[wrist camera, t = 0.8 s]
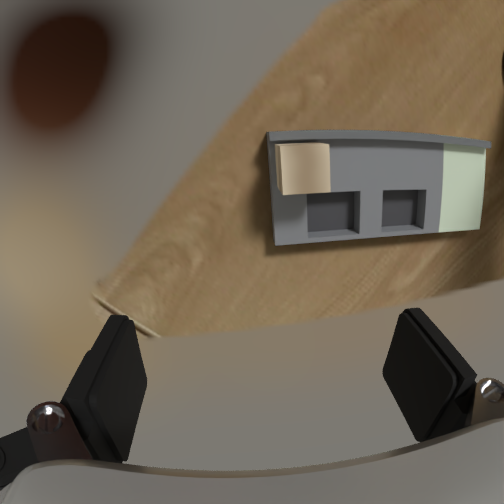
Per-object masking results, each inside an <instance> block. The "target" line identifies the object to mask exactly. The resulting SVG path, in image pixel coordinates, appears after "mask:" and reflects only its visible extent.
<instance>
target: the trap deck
mask: <svg viewBox="0 0 504 504" xmlns="http://www.w3.org/2000/svg"><path fill="white" fill-rule="evenodd" d="M266 134H267V148H268V162H269V177H270V192H271V208H272V225H273V240H274V243H275V246H278V245H290V244H302V243H314V242H326V241H338V240H350V239H362V238H375V237H387V236H399V235H412V234H425V233H437V232H450V231H463V230H476V229H480V222H481V213H482V204H483V194H484V181H485V161H486V148H491V142H489V141H483V140H477V139H470V138H462V137H454V136H445V135H435V134H424V133H411V132H395V131H373V130H299V131H276V132H266ZM310 142H319V143H324V144H329V153H330V187H331V192H327V193H308V194H292V195H283V194H282V193H281V191H280V190H279V188H278V187H277V174H276V158H275V144H285V143H310Z"/></svg>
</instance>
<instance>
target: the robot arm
mask: <svg viewBox="0 0 504 504" xmlns="http://www.w3.org/2000/svg"><path fill="white" fill-rule="evenodd" d="M476 376H477V374H476V373H475V371H474V370H473V369H472V368H471V367H470V365H469V364H468V363H467V362H466V360H465V359H464V358H463V357H462V356H461V354H460V353H459V352H458V351H457V350H456V348H455V347H454V346H453V345H452V344H451V343H450V341H449V340H448V339H447V338H446V337H445V336H444V334H443V333H442V332H441V331H440V330H439V329H438V328H437V326H435V324H434V323H433V322H432V321H431V320H430V319H429V317H428V316H427V315H426V314H425V313H424V312H423V311H422V310H421V309H420V308H410V309H405V310H404V311H403V313H401V314H400V315H399V318H398V321H397V325H396V328H395V332H394V335H393V338H392V342H391V345H390V348H389V351H388V355H387V358H386V361H385V364H384V367H383V377H384V379H385V381H386V383H387V385H388V387H389V389H390V390H391V392H392V394H393V396H394V398H395V400H396V402H397V404H398V406H399V407H400V410H401V412H402V413H403V415H404V417H405V419H406V421H407V423H408V425H409V427H410V429H411V431H412V433H413V435H414V437H415V439H416V440H417V441H419V442H420V443H418V444H414V445H410V446H407V447H403V448H399V449H395V450H392V451H387V452H383V453H379V454H374V455H370V456H365V457H360V458H355V459H350V460H345V461H339V462H332V463H326V464H319V465H311V466H302V467H293V468H282V469H267V470H244V471H207V470H184V469H170V468H158V467H147V466H138V465H130V464H123V463H122V462H123V461H127V460H128V456H129V452H130V448H131V444H132V440H133V436H134V432H135V428H136V424H137V420H138V417H139V413H140V409H141V405H142V402H143V398H144V395H145V391H146V387H147V377H146V373H145V369H144V365H143V361H142V357H141V353H140V348H139V344H138V339H137V335H136V330H135V325H134V322H133V320H129V318H128V316H126V315H111V316H110V317H109V318H108V320H107V322H106V324H105V325H104V327H103V329H102V331H101V332H100V334H99V336H98V338H97V339H96V341H95V343H94V345H93V347H92V348H91V350H89V351H88V352H87V353H86V354H85V356H84V358H83V360H82V362H81V364H80V365H79V367H78V369H77V371H76V373H75V375H74V377H73V378H72V380H71V382H70V384H69V387H68V388H67V390H66V392H65V394H64V396H63V398H62V400H61V402H60V403H58V402H55V401H47V402H43V403H40V404H38V405H36V406H35V407H34V408H33V409H32V410H31V411H30V412H29V414H28V416H27V420H26V422H27V427H26V428H24V429H21V430H19V431H16V432H14V433H11V434H9V435H7V436H4V437H2V438H0V504H504V384H503V383H502V382H500V381H499V380H496V379H494V378H483V379H481V380H480V381H479V382H478V383H476V382H475V378H476Z"/></svg>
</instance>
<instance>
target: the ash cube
mask: <svg viewBox="0 0 504 504" xmlns="http://www.w3.org/2000/svg"><path fill="white" fill-rule="evenodd" d="M275 158H276V174H277V187H278V188H279V190H280V191H281V193H282V194H283V195H292V194H308V193H327V192H331V187H330V153H329V144H324V143H319V142H310V143H285V144H275Z"/></svg>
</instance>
